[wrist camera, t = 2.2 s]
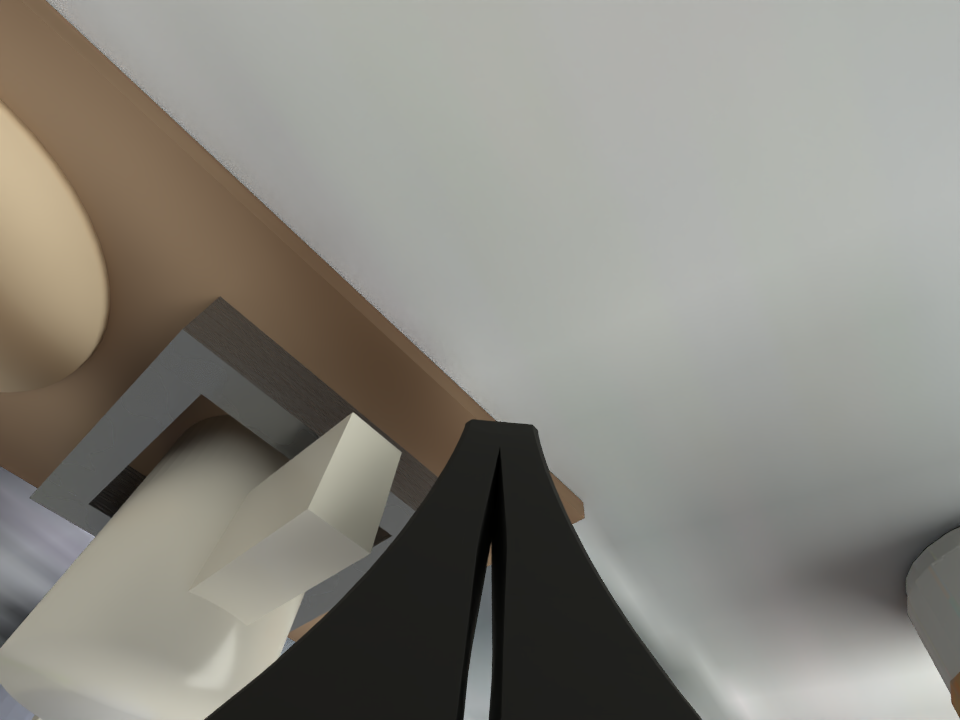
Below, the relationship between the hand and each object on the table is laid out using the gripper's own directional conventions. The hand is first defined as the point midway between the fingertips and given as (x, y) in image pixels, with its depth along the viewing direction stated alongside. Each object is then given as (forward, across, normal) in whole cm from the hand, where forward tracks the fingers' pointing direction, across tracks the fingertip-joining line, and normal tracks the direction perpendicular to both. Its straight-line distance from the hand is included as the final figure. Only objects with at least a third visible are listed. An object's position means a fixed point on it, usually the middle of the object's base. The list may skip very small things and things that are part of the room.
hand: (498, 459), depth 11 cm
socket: (+3, +7, +4) cm, 9 cm away
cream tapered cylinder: (+3, +6, +3) cm, 7 cm away
